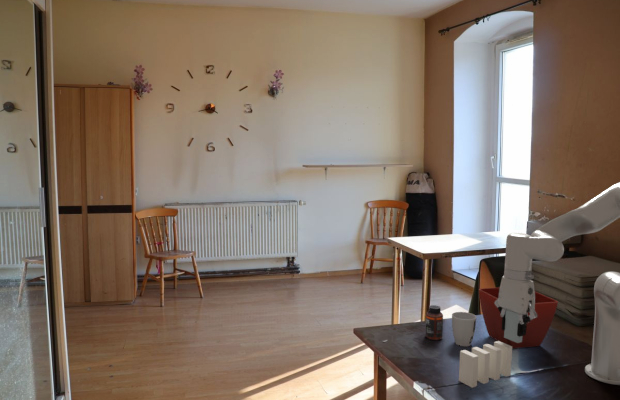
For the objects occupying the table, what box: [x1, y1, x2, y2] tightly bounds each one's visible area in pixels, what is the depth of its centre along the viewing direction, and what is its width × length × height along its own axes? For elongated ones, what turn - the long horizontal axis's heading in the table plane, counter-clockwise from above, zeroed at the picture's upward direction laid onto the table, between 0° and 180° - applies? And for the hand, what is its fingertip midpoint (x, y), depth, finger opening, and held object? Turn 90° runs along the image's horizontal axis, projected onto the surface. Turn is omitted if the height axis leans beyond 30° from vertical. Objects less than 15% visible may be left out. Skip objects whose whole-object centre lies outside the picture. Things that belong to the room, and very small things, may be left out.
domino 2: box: [471, 346, 490, 385], centre depth 149 cm, size 5×2×9 cm, turn 30°
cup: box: [451, 311, 477, 347], centre depth 176 cm, size 8×8×10 cm
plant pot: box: [478, 286, 559, 350], centre depth 179 cm, size 19×19×17 cm
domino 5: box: [504, 309, 524, 343], centre depth 155 cm, size 5×2×9 cm, turn 30°
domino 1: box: [458, 349, 478, 388], centre depth 147 cm, size 5×2×9 cm, turn 30°
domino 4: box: [493, 340, 513, 378], centre depth 154 cm, size 5×2×9 cm, turn 30°
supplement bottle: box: [425, 304, 444, 341], centre depth 181 cm, size 6×6×11 cm
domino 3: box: [482, 343, 501, 381], centre depth 152 cm, size 5×2×9 cm, turn 30°
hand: (513, 331), depth 156 cm, fingers closed on domino 5, 4 cm apart
